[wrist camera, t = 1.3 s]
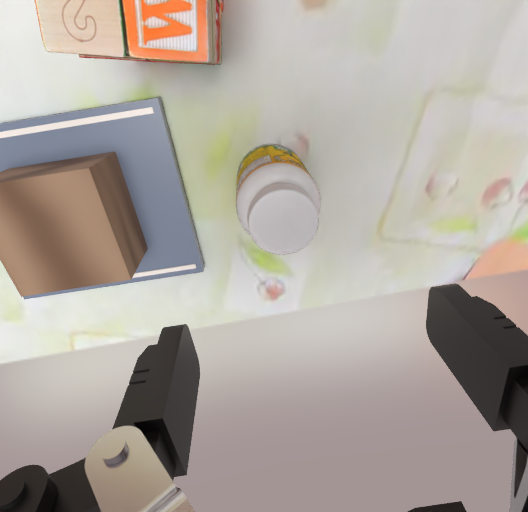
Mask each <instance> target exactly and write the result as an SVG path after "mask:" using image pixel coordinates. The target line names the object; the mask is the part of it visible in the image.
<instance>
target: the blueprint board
mask: <svg viewBox="0 0 528 512" xmlns="http://www.w3.org/2000/svg"><path fill="white" fill-rule="evenodd" d="M108 152H116V155H117V158H118V161H119V164H120V167H121V170H122V173H123V176H124V179H125V182H126V185H127V188H128V191H129V193H130V196H131V199H132V202H133V205H134V208H135V211H136V214H137V217H138V220H139V223H140V226H141V229H142V232H143V235H144V238H145V241H146V244H147V247H148V249H147V251H146V253H145V255H144V257H143V259H142V261H141V262H140V264H139V266H138V268H137V270H136V272H135V274H134V275H133V277H132V279H131V280H126V281H120V282H113V283H107V284H100V285H94V286H87V287H81V288H74V289H68V290H61V291H55V292H48V293H42V294H35V295H29V296H23V297H24V299H29V298H36V297H42V296H49V295H55V294H62V293H68V292H75V291H81V290H88V289H94V288H101V287H107V286H114V285H120V284H127V283H133V282H140V281H146V280H153V279H159V278H166V277H172V276H179V275H185V274H191V273H198V272H203V271H204V263H203V259H202V255H201V251H200V247H199V243H198V239H197V236H196V232H195V228H194V224H193V220H192V216H191V213H190V209H189V205H188V201H187V197H186V193H185V190H184V186H183V182H182V178H181V174H180V170H179V166H178V163H177V159H176V155H175V151H174V147H173V143H172V140H171V136H170V132H169V128H168V124H167V120H166V116H165V113H164V109H163V105H162V101H161V97H157V98H151V99H145V100H139V101H133V102H127V103H121V104H115V105H109V106H103V107H97V108H91V109H85V110H79V111H72V112H66V113H60V114H54V115H48V116H42V117H36V118H30V119H24V120H18V121H12V122H6V123H0V172H2V171H4V170H7V169H10V168H16V167H22V166H28V165H34V164H41V163H47V162H53V161H59V160H65V159H71V158H78V157H84V156H90V155H96V154H102V153H108Z"/></svg>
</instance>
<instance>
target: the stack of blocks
mask: <svg viewBox="0 0 528 512" xmlns="http://www.w3.org/2000/svg"><path fill="white" fill-rule="evenodd" d="M35 4H36V9H37V15H38V20H39V25H40V30H41V35H42V40H43V44H44V47H45V49H46V51H48V52H59V53H73V54H79V57H82V58H105V59H119V60H136V61H148V62H168V63H193V64H210V65H215V64H219V65H220V64H221V36H222V12H223V0H35Z"/></svg>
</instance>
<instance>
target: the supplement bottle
mask: <svg viewBox="0 0 528 512" xmlns="http://www.w3.org/2000/svg"><path fill="white" fill-rule="evenodd" d="M236 208H237V214H238V217H239V220H240V222H241V224H242V226H243V227H244V229H245V230H246V231H247V232H248V233H249V234H250V235H251V237H252V238H253V240H254V241H255V243H256V244H257V245H258V246H259V247H261V248H262V249H264V250H265V251H268V252H270V253H274V254H290V253H294V252H296V251H299V250H300V249H302V248H304V247H305V246H306V245H307V244H308V243H309V242H310V241H311V240H312V239H313V237H314V235H315V234H316V231H317V228H318V221H319V218H318V215H319V212H320V194H319V191H318V188H317V185H316V183H315V181H314V180H313V178H312V177H311V176H310V174H309V173H308V171H307V170H306V168H305V166H304V165H303V163H302V162H301V160H300V159H299V158H298V156H297V155H296V154H295V153H294V152H292V151H291V150H290V149H288V148H286V147H283V146H279V145H275V144H266V145H262V146H259V147H257V148H255V149H253V150H252V151H250V152H249V153H248V154H247V155H246V156H245V157H244V159H243V160H242V162H241V164H240V166H239V169H238V174H237V193H236Z"/></svg>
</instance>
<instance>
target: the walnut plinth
mask: <svg viewBox="0 0 528 512" xmlns="http://www.w3.org/2000/svg"><path fill="white" fill-rule="evenodd" d="M147 249H148V247H147V244H146V241H145V238H144V235H143V232H142V229H141V226H140V223H139V220H138V217H137V214H136V211H135V208H134V205H133V202H132V199H131V196H130V193H129V191H128V188H127V185H126V182H125V179H124V176H123V173H122V170H121V167H120V164H119V161H118V158H117V155H116V152H108V153H102V154H96V155H90V156H84V157H78V158H71V159H65V160H59V161H53V162H47V163H41V164H34V165H28V166H22V167H16V168H10V169H7V170H4V171H2V172H0V260H1V262H2V264H3V265H4V267H5V269H6V271H7V272H8V274H9V276H10V278H11V279H12V281H13V283H14V285H15V286H16V288H17V290H18V292H19V293H20V295H21V297H22V296H29V295H35V294H42V293H48V292H55V291H61V290H68V289H74V288H81V287H87V286H94V285H100V284H107V283H113V282H120V281H126V280H131V279H132V277H133V275H134V274H135V272H136V270H137V268H138V266H139V264H140V262H141V261H142V259H143V257H144V255H145V253H146V251H147Z"/></svg>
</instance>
